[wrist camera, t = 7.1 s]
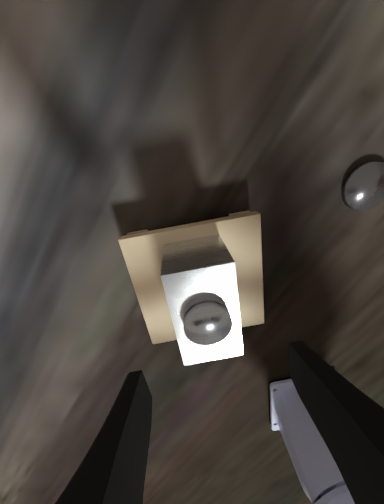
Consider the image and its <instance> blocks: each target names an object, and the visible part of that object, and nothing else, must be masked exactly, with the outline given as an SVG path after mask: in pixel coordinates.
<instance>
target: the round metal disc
mask: <svg viewBox="0 0 384 504" xmlns="http://www.w3.org/2000/svg"><path fill="white" fill-rule="evenodd" d="M342 199H343V201H344V203H345V204H346V205H347V206H348V207H350V208H352V209H355V210H360V211H363V210H368V209H371V208H373V207H375V206H377V205H378V204H380V203H381V202H382V201H383V200H384V162H378V161H369V162H365V163H362V164H360V165H359V166H357V167H356V168H354V169H353V170H352V171H351V172H350V174H349V175H348V176H347V178H346V179H345V181H344V184H343V187H342Z"/></svg>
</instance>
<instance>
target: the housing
mask: <svg viewBox="0 0 384 504" xmlns="http://www.w3.org/2000/svg"><path fill="white" fill-rule="evenodd" d="M160 276H161V280H162V284H163V288H164V291H165V295H166V299H167V303H168V306H169V310H170V314H171V318H172V322H173V325H174V329H175V333H176V337H177V340H178V344H179V348H180V352H181V356H182V359H183V363H184V366H186V365H192V364H197V363H202V362H208V361H213V360H218V359H224V358H229V357H234V356H240V355H244V352H243V341H242V331H241V320H240V310H239V299H238V288H237V278H236V267H235V261H234V259H233V258H232V256H231V254H230V252H229V251H228V249H227V247H226V245H225V244H224V242H223V240H222V238H221V237H220V235H219V234H217V235H211V236H206V237H201V238H195V239H190V240H184V241H179V242H173V243H168V244H164V246H163V256H162V265H161V275H160Z"/></svg>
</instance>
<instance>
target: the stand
mask: <svg viewBox="0 0 384 504" xmlns="http://www.w3.org/2000/svg"><path fill="white" fill-rule="evenodd" d="M217 234H219V235H220V237H221V238H222V240H223V242H224V244H225V245H226V247H227V249H228V251H229V252H230V254H231V256H232V258H233V259H234V261H235V267H236V278H237V288H238V299H239V310H240V320H241V328H242V327H247V326H253V325H258V324H264V300H263V272H262V244H261V216H260V213H258V212H257V211H254V212H250V211H249V210H248V211H242V212H237V213H232V214H229V216H227V217H222V218H216V219H211V220H206V221H200V222H195V223H189V224H184V225H178V226H173V227H168V228H162V229H157V230H151V231H148V229H145V230H140V231H134V232H129V233H127V234H126V235H124V236H121V237H120V238H119V240H118V241H119V244H120V247H121V250H122V253H123V256H124V259H125V262H126V265H127V268H128V271H129V274H130V277H131V280H132V283H133V286H134V289H135V292H136V295H137V298H138V301H139V304H140V307H141V310H142V313H143V316H144V319H145V322H146V325H147V328H148V331H149V334H150V337H151V340H152V343H153V344H156V343H162V342H167V341H172V340H177V337H176V333H175V329H174V325H173V322H172V318H171V314H170V310H169V306H168V303H167V299H166V295H165V291H164V288H163V284H162V280H161V276H160V275H161V265H162V256H163V246H164V244H168V243H173V242H179V241H184V240H190V239H195V238H201V237H206V236H211V235H217Z"/></svg>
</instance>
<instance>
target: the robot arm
mask: <svg viewBox="0 0 384 504" xmlns="http://www.w3.org/2000/svg"><path fill="white" fill-rule="evenodd" d="M288 372H289V374H290V377H291V379H287V380H281V381H276V382H272V383H271V384H270V417H271V428H272V430H274V431H276V430H280V432H281V434H282V437H283V439H284V442H285V445H286V447H287V450H288V452H289V455H290V458H291V460H292V463H293V465H294V468H295V471H296V473H297V476H298V478H299V481H300V483H301V486H302V488H303V490H304V492H305V493H306V495H307V496H308V498H309V499H310V500H311V501H312V503H313V504H384V408H383V407H381V406H380V405H378V404H377V403H376V402H374V401H373V400H372V399H371V398H369V397H368V396H367V395H365V394H364V393H363V392H361V391H360V390H359V389H358V388H356V387H355V386H354V385H353V384H351V383H350V382H349V381H348V380H347V379H345V378H344V377H343V376H342V375H340V374H339V373H338V372H337V371H336V370H334V369H333V368H332V367H331V366H330V365H329V364H328V363H326V362H325V361H324V360H323V359H322V358H321V357H320V356H318V355H317V354H316V353H315V352H314V351H313V350H312V349H311V348H310V347H308V346H307V345H306V344H305V343H304V342H303V341H298V342H292V343H289V367H288ZM151 421H152V396H151V393H150V390H149V388H148V385H147V383H146V380H145V377H144V375H143V372H142V370H140V371H135V372H130V373H129V374H128V375H127V377H126V379H125V382H124V384H123V386H122V388H121V390H120V392H119V394H118V396H117V398H116V401H115V403H114V405H113V407H112V409H111V410H110V412H109V414H108V416H107V418H106V420H105V422H104V424H103V426H102V428H101V430H100V431H99V433H98V435H97V437H96V438H95V440H94V442H93V444H92V446H91V447H90V449H89V451H88V453H87V454H86V456H85V458H84V459H83V461H82V463H81V464H80V466H79V468H78V469H77V471H76V472H75V474H74V476H73V477H72V479H71V480H70V482H69V483H68V485H67V486H66V488H65V490H64V491H63V492H62V494H61V495H60V497H59V498H58V500H57V501H56V503H55V504H142V503H143V491H144V481H145V473H146V465H147V456H148V448H149V439H150V431H151Z"/></svg>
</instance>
